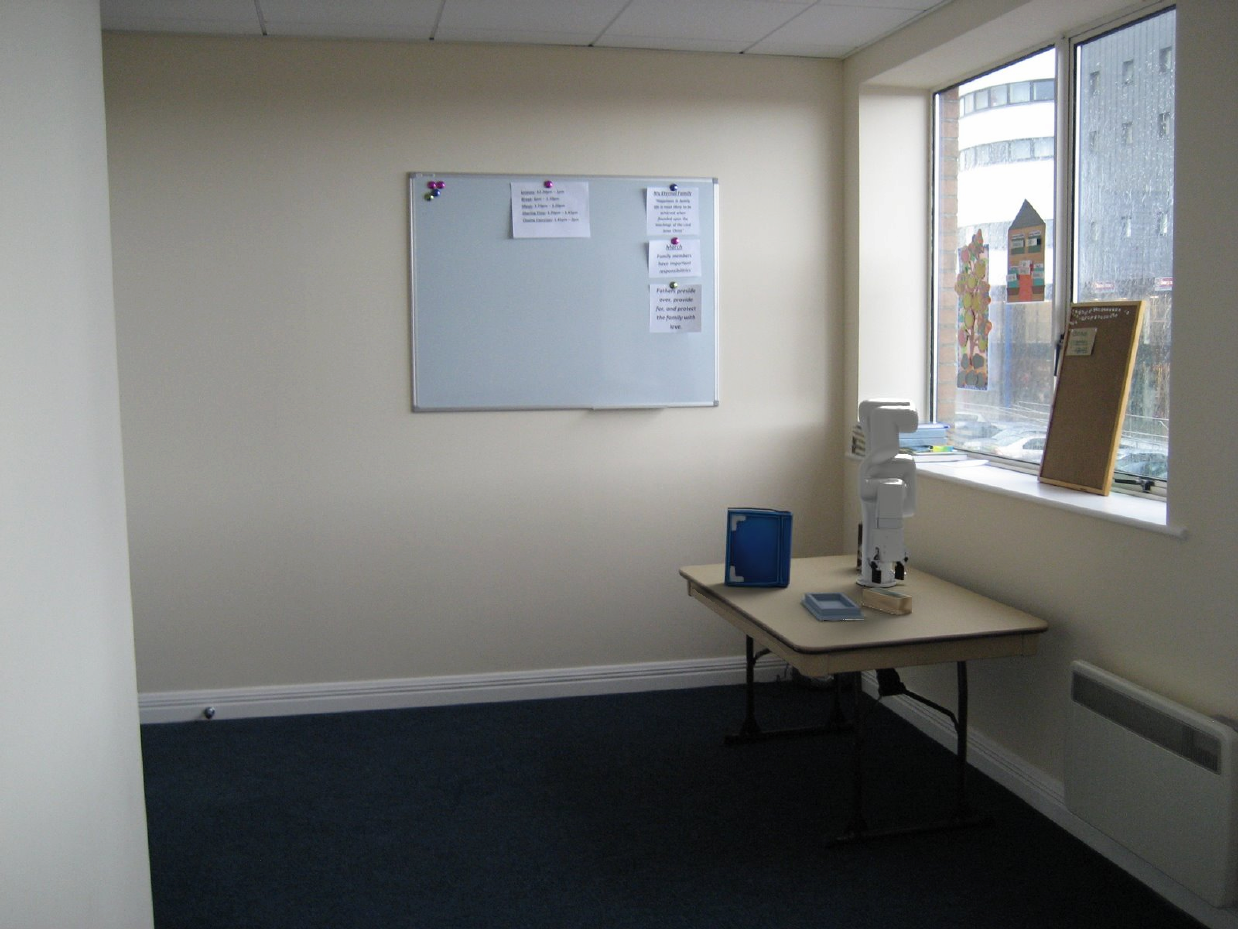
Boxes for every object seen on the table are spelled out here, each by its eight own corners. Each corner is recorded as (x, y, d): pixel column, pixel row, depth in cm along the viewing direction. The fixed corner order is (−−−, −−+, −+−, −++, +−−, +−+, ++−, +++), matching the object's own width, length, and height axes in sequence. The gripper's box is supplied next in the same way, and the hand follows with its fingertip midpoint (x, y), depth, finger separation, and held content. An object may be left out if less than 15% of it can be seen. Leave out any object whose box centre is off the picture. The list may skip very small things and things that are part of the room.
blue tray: (843, 601, 332) (843, 591, 332) (864, 620, 310) (865, 609, 310) (801, 602, 331) (801, 592, 331) (819, 621, 309) (819, 610, 309)
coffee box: (856, 570, 378) (857, 523, 376) (859, 566, 384) (860, 521, 382) (883, 572, 374) (884, 525, 373) (885, 568, 380) (887, 522, 379)
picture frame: (877, 603, 331) (877, 586, 331) (911, 613, 319) (912, 596, 319) (862, 605, 328) (862, 589, 328) (896, 616, 316) (897, 598, 316)
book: (791, 583, 357) (792, 507, 354) (792, 588, 350) (793, 511, 347) (724, 582, 359) (725, 506, 356) (724, 586, 352) (725, 510, 349)
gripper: (899, 520, 329) (898, 576, 330) (859, 524, 319) (857, 582, 320) (919, 523, 322) (917, 580, 324) (878, 527, 313) (877, 586, 314)
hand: (887, 581), depth 322 cm, fingers open, 9 cm apart
